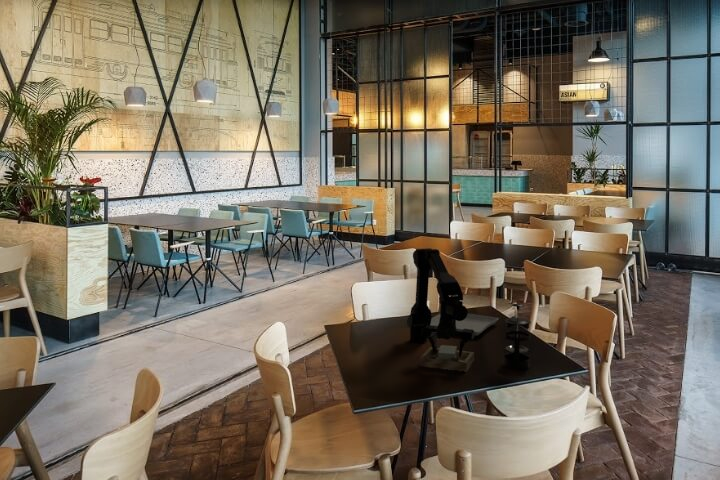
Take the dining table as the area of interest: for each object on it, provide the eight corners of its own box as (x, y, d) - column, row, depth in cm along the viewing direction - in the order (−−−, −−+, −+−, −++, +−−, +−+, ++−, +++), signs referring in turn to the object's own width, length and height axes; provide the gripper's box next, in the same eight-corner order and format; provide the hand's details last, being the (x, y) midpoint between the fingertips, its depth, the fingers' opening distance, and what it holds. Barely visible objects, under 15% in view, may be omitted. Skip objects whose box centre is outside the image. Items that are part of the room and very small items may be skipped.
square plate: (499, 325, 271) (499, 316, 271) (479, 340, 248) (479, 331, 247) (444, 317, 285) (444, 309, 284) (420, 331, 262) (420, 323, 261)
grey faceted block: (438, 364, 215) (438, 352, 215) (440, 356, 224) (440, 345, 223) (454, 365, 214) (454, 353, 213) (456, 357, 223) (456, 346, 222)
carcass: (420, 366, 216) (420, 354, 216) (429, 355, 228) (430, 344, 228) (466, 372, 210) (466, 360, 209) (473, 360, 222) (474, 349, 221)
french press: (529, 371, 210) (532, 308, 207) (502, 369, 212) (504, 307, 209) (529, 361, 221) (531, 300, 218) (503, 359, 223) (505, 299, 220)
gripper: (417, 317, 213) (416, 358, 215) (468, 322, 206) (468, 365, 208) (425, 309, 223) (425, 349, 225) (475, 314, 216) (474, 355, 218)
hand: (447, 355), depth 219 cm, fingers open, 9 cm apart
